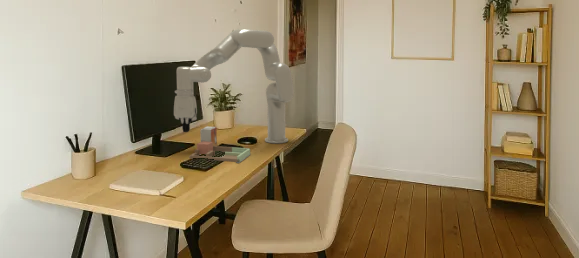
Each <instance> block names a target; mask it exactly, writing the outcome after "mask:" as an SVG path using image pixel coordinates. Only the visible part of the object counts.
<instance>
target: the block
mask: <svg viewBox="0 0 579 258" xmlns="http://www.w3.org/2000/svg"><path fill="white" fill-rule="evenodd" d="M196 150H199V152H200V154H206V153H208V152H209V151H213V142H205V141H202V142H201V141H200V142H198V143H196Z"/></svg>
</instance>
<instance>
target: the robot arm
mask: <svg viewBox="0 0 579 258" xmlns="http://www.w3.org/2000/svg"><path fill="white" fill-rule="evenodd" d="M274 42H275V37H274V34H273V33H272V32H270V30H269V31H268V30H258V29H246V28H241V29H239V28H237V29H234V30H232V31H231V32H229V34H228V35H227V36H226V37H225V38H224V39H222V40H221V41H220V43H218V44H217V45H216V46H215V47H214V48H213V49H210V51H208V52H207V53H206V54H204V55H202V56H201V57H200V58H199V59H198V60H197V61H195V62H194V63H193V65H191V66H178V67H177V68H176V90H174V93H175V94H176V95H175V97H174V101H173V102H174V103H173V104H174V105H173V116H174V119H176V120H178V121H180V124H182V129H181V130H182V132H183V133H189V132H190V129H191V123H192V122H193V121H197V116H198V115H197V114H198V109H197V108H198V107H197V100H196V96H194V95H195V94H194V83H207V82H209V81H210V80H211V78H212V72H211V69H213V68H214V67H217V66H219V65H222V64H223V63H226V62H228V61H229V60H230V59H231V58H232V57H233V56H234V55H235V54H236V53H238V51H239V50H240V49H242V48H251V49H257V50H258V51H259V53H260V54H261V57H262V62H263V68H264V69H263V70H264V74H265V78H266V79H268V80H270V81H273V82H271V83H270V84H268V85H267V87H266V90H265V97H266V103H267V137H265V138H264V141H265V142H266V143H269V144H284V143H287V142H288V141H289V138H288V137H286V104H285V103H289V102H291V101H292V100H293V98H294V94H295V89H294V80H293V75H292V74H293V73H292V70H291V68H290V67H289V65H287V63H284V62H281V60H280V57H279V52H278V49H277V46H276V45H275V43H274Z"/></svg>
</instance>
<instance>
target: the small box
mask: <svg viewBox="0 0 579 258" xmlns="http://www.w3.org/2000/svg"><path fill="white" fill-rule="evenodd" d="M217 130H218V129H217V126H205V127H203V128H201V129H200V142H202V141H205V142H213V146H218V142H217V141H218V140H217V139H218V137H217V136H218V135H217V134H218V133H217Z"/></svg>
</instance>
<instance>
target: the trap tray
mask: <svg viewBox="0 0 579 258" xmlns="http://www.w3.org/2000/svg"><path fill="white" fill-rule="evenodd" d="M215 151H222V152H225V155H224V156H222V157H212V156H215ZM199 155H201V154H200V152H199V150H197V149H194V152H193V153H191V154H190V155H188V156H189V159H193V158H208V159H214V160H213V161H221V162H230V163H231V162H234V163H236V164H240V163H241V162H242V161H244V160H246V159H247V158H248V157H250V156H251V148H245V147H232V146H231V147H230V146H220V145H219V146H218V145H217V146H213V151H209V152H208V153H206V156H199Z"/></svg>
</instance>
